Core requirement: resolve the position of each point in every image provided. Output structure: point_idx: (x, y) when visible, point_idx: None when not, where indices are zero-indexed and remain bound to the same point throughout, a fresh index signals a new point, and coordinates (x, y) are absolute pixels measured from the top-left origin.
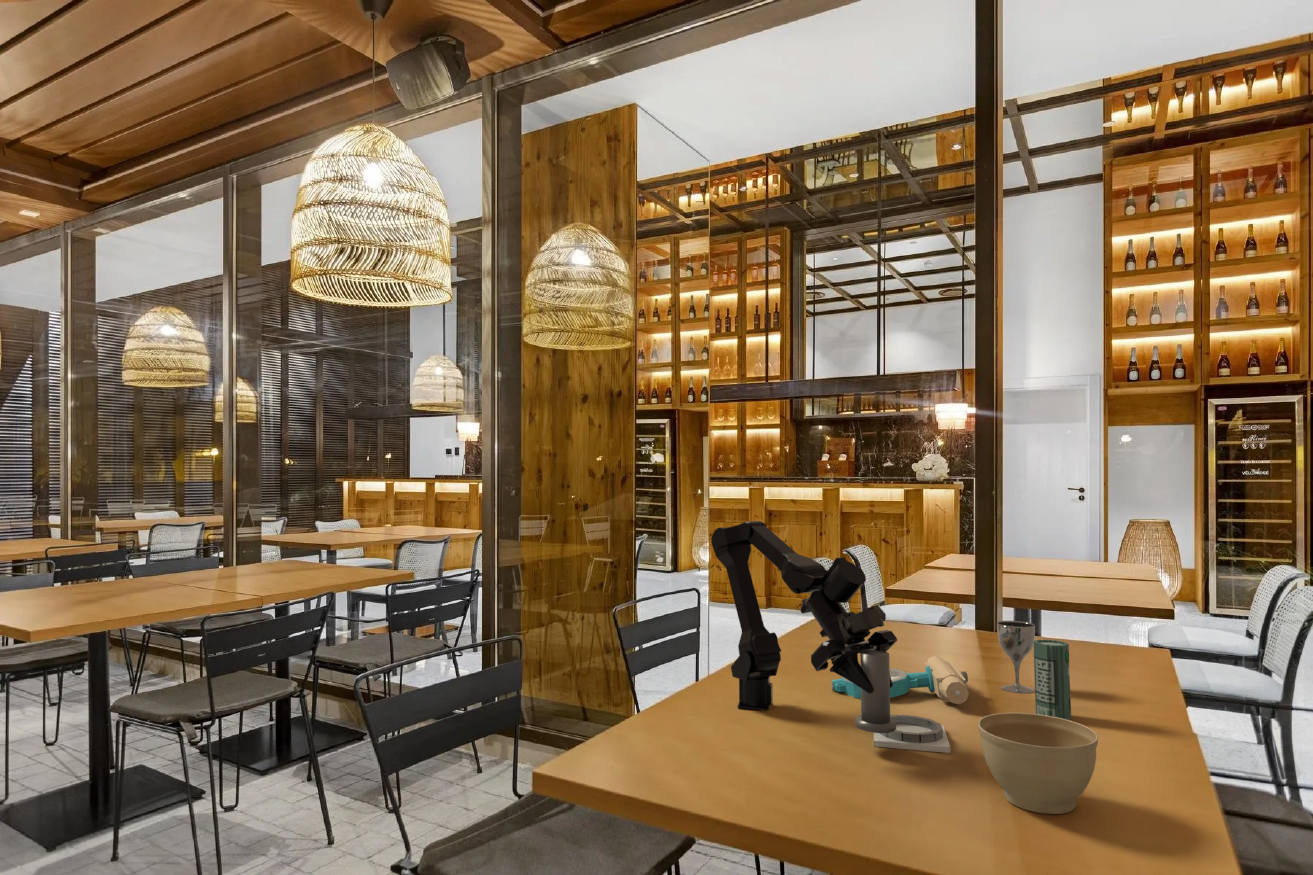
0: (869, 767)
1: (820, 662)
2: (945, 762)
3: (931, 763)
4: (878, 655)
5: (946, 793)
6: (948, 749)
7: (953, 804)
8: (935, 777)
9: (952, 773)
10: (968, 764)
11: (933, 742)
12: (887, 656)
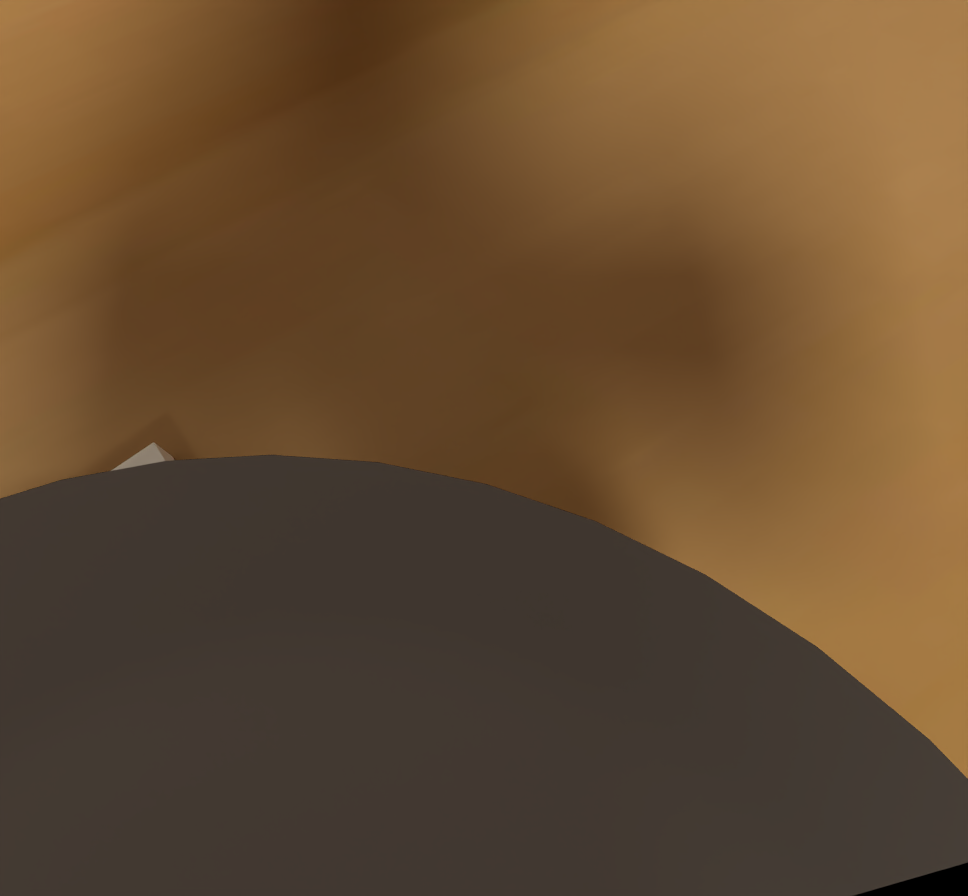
0: (898, 646)
1: None
2: (363, 381)
3: (451, 423)
4: (611, 814)
5: (805, 125)
6: (167, 457)
7: (899, 37)
8: (649, 279)
9: (504, 259)
10: (289, 285)
11: None
12: (202, 474)
